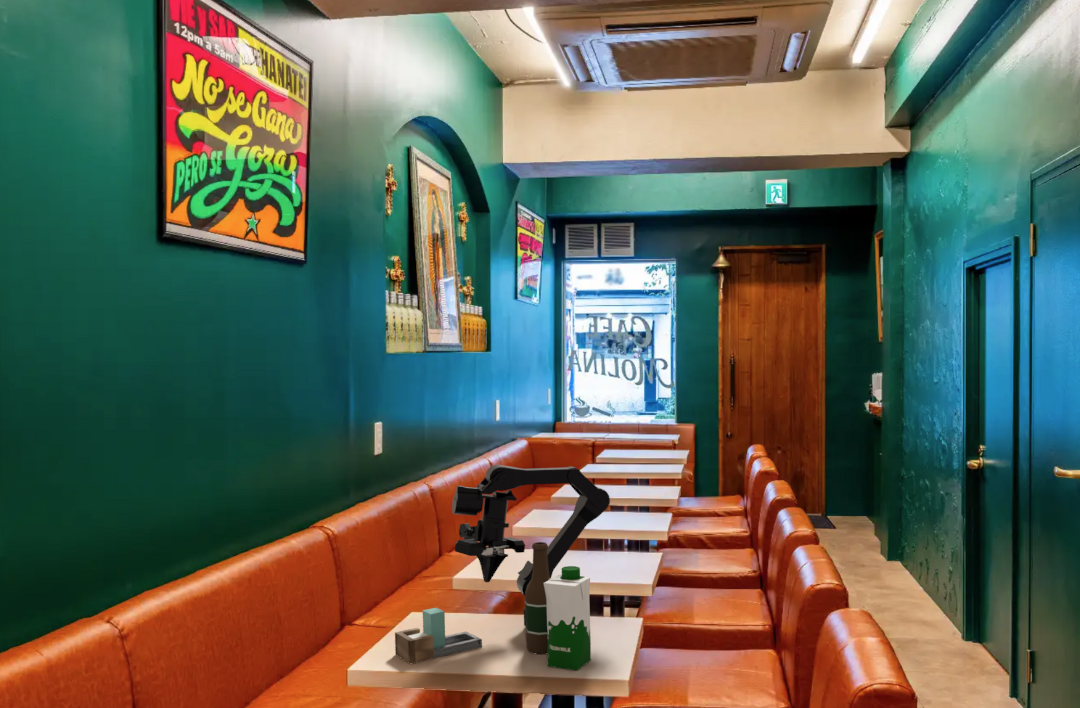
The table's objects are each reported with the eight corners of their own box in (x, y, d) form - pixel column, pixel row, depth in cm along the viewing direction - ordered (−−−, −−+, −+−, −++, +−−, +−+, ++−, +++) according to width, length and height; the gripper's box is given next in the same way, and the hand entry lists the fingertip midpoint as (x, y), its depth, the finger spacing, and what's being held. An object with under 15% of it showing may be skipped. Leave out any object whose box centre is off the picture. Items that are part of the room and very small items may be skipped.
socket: (418, 649, 201) (417, 627, 201) (433, 658, 194) (433, 636, 194) (395, 654, 198) (394, 632, 198) (410, 664, 191) (410, 641, 191)
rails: (466, 639, 208) (466, 631, 208) (482, 646, 201) (481, 639, 201) (418, 649, 201) (418, 641, 201) (433, 658, 194) (433, 650, 194)
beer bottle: (556, 655, 194) (553, 547, 194) (522, 654, 195) (519, 546, 196) (562, 644, 202) (559, 539, 202) (529, 643, 203) (526, 539, 203)
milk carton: (596, 659, 191) (593, 567, 191) (578, 673, 183) (575, 577, 183) (560, 654, 195) (557, 564, 195) (541, 667, 187) (538, 573, 187)
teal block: (437, 646, 201) (436, 607, 202) (445, 651, 198) (444, 611, 198) (405, 654, 197) (404, 613, 197) (413, 658, 194) (412, 617, 194)
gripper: (498, 510, 225) (491, 572, 224) (443, 512, 211) (435, 577, 210) (529, 518, 217) (522, 582, 216) (474, 520, 204) (466, 588, 203)
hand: (486, 581), depth 212 cm, fingers closed
